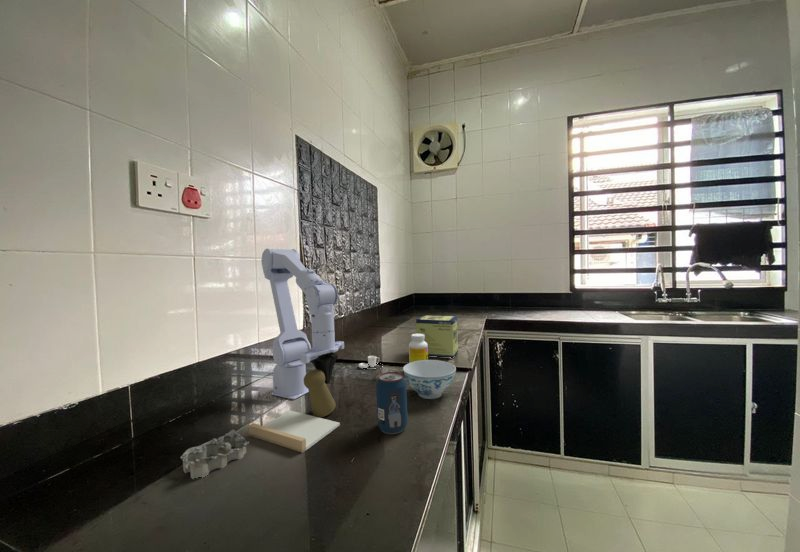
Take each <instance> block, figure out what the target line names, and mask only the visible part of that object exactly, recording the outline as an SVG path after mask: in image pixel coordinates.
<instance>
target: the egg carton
mask: <svg viewBox="0 0 800 552" xmlns="http://www.w3.org/2000/svg"><path fill="white" fill-rule="evenodd" d="M248 444H250V441H248V440H247V441H246V438H245V437H243V435H241V434H240V433H238V432H237V431H236V430H235V429H231V430H229V432H227V433H225V434H224V435H221V436H219V437H218V438H212V439H210V440H209V441H207V442H205V443H202V444H199V445H198V446H192V447H189V448H188V449H186V450H185V451H184V452H183V454H182V455H181V456H180V459H181V460H182V468H183V470H182V471H183V472H184V474H187V473H190V479H191V478H192V479H193V480H195V479H194V478H196V479H199V478H198V477H202V478H201V479H204V478H206V477H208V476H209V474H210V472H212V471H214V470H216V469H223V468H225V467H226V466H228V465H227V464H229V462H231V461H234V460H242V459H243V458H245V457H244V456H245V454H246V453H247V445H248ZM207 475H208V476H207ZM205 476H206V477H205ZM203 477H204V478H203ZM192 479H191V480H192Z"/></svg>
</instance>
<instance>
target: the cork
mask: <svg viewBox="0 0 800 552" xmlns="http://www.w3.org/2000/svg"><path fill="white" fill-rule="evenodd" d="M304 385H305V386H306V388H308V390H309V392H308V395H309V400H310V406H311V410H312V416H315V417H319V418H323V417H326V416H329V415H331V413H333V412H334V410H335V409H336V405H337V404H336V401H335V399H334V398H333V397H334V396H332V393H331V391H330V389H329V388H328V386H327V384H325V374H324V373H323V372H322V371H321V370H318V369H316V368H315V369H313V370H310V371H308V372H306V375H305V377H304Z"/></svg>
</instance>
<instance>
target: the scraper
mask: <svg viewBox="0 0 800 552" xmlns="http://www.w3.org/2000/svg"><path fill="white" fill-rule="evenodd" d="M340 426H341V423H340V422H338V421H333V420H330V419H325V418H323V417H316V416H314V415H310V414H307V413H302V412H299V411H298V412H297V411H294V410H289V411H287V412H285V413H282V415H279V416H278V417H276V418H274V419H272V420H270V421H269V422H267V423H265V424H263V425H260V424H257V423H254V422H253V423H250V424H248V430H249V431H248V433H249V437H252V438H255V439H258V440H262V441H265V442H268V443H271V444H274V445H277V446H279V447H284V448H286V449H288V450H293V451H295V452H298V453H302V454H303V453H305V452H306V451H307V450H309V449H310V448H312V446H314V445H315V444H317V443H318V442H319V441H321V440H322V439H323V438H325V437H326V436H327V435H329V434H330V433H332V432H333V431H334V430H336V429H337V428H338V427H340Z"/></svg>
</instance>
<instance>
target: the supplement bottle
mask: <svg viewBox="0 0 800 552" xmlns="http://www.w3.org/2000/svg"><path fill="white" fill-rule="evenodd" d="M410 338H411V341H410V342H409V344H408V354H409V355H408V356H409V357H408V359H409V360H408V361H409V363H411V362H415V361H420V360H429V357H428V345H427V343H426V342H425V341H424V338H425V335H424V334H416V333H412V334H411V337H410Z"/></svg>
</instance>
